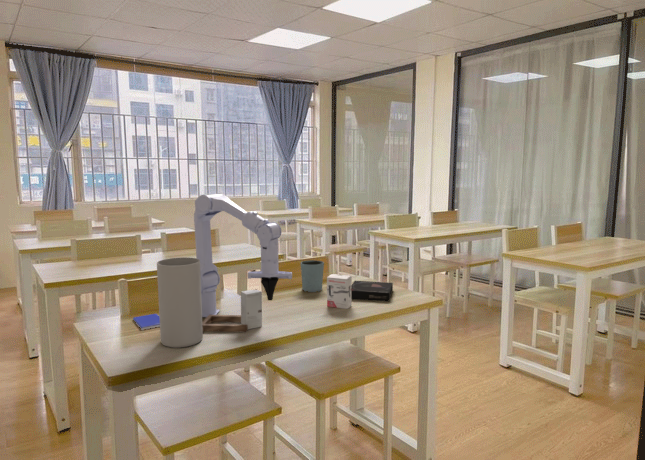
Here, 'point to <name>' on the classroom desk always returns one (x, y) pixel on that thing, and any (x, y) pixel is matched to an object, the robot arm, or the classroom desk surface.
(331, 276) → the ink box
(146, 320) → the hard drive
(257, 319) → the skincare box
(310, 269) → the teal cup
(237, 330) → the u rest
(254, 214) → the robot arm
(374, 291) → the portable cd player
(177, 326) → the cylinder vase
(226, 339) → the classroom desk surface
